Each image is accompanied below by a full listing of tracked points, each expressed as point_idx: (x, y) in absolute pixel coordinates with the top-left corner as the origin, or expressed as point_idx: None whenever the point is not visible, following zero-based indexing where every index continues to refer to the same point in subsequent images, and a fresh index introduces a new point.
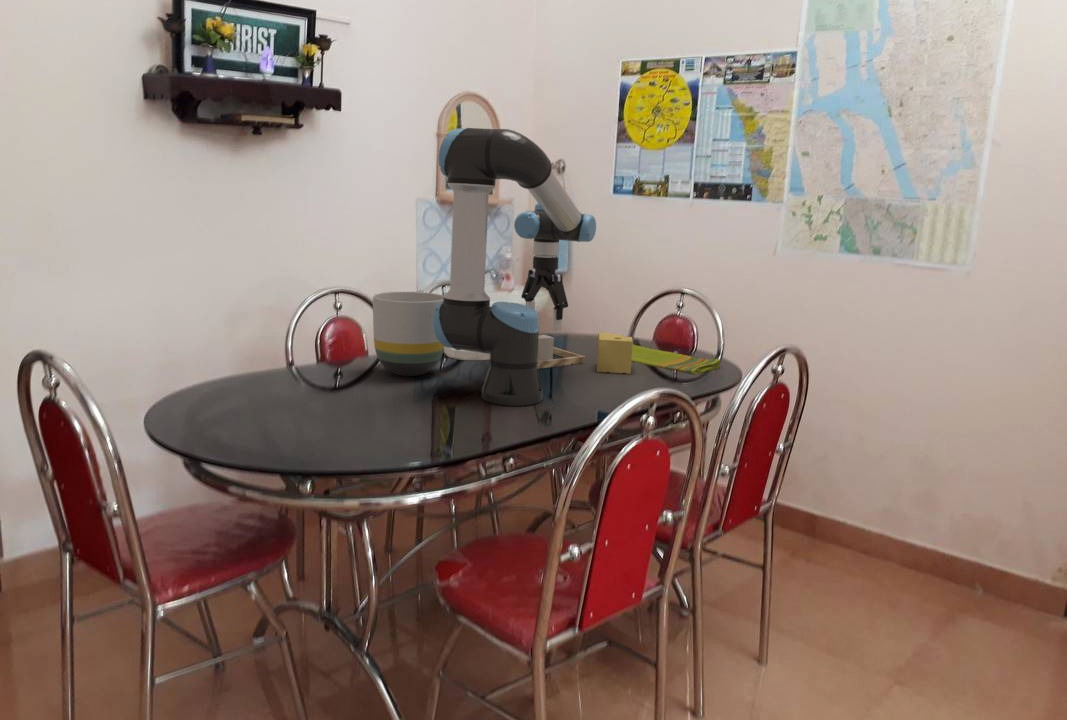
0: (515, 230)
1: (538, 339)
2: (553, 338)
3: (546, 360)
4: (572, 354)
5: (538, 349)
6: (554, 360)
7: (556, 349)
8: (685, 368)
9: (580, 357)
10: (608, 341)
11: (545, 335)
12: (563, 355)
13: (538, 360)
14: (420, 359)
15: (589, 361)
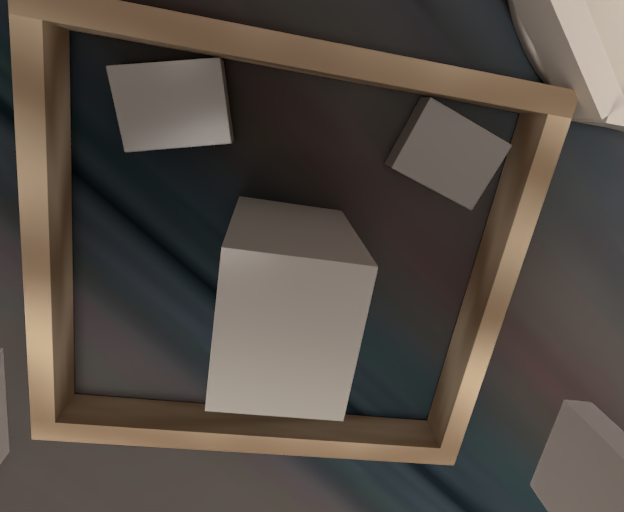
0: None
1: (234, 246)
2: (207, 402)
3: (28, 108)
4: (146, 424)
5: (235, 218)
6: (18, 179)
7: (318, 436)
8: None
9: (30, 403)
10: None
11: (320, 408)
12: (244, 414)
13: (153, 127)
14: None
15: (81, 456)
